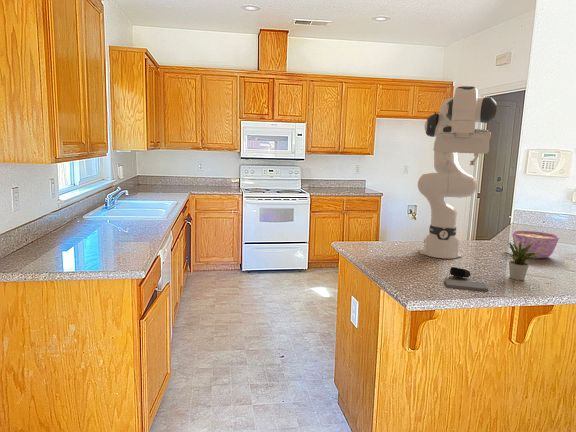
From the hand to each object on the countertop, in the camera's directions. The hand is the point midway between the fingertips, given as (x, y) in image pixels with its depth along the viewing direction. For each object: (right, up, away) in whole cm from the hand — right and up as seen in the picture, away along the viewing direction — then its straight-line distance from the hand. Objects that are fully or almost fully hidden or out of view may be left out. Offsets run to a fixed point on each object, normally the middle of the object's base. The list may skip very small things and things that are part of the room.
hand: (459, 164), depth 168 cm
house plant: (+23, -45, +4) cm, 51 cm away
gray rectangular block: (-1, -46, -9) cm, 47 cm away
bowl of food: (+52, -41, +41) cm, 78 cm away
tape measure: (+1, -45, -2) cm, 45 cm away
